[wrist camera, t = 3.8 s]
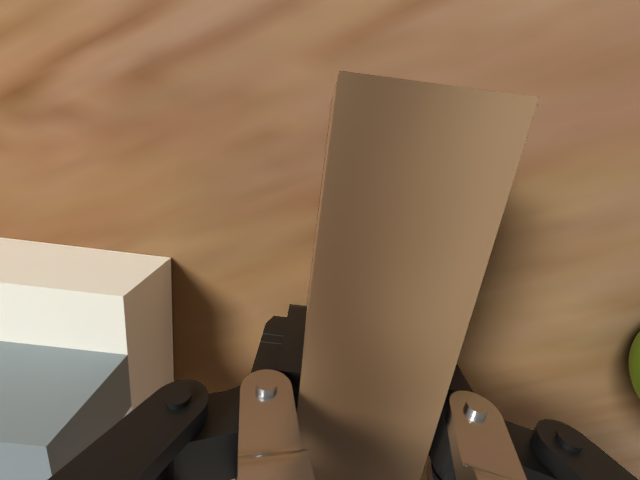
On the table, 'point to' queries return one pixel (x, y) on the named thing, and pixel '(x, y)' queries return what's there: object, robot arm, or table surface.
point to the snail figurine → (635, 364)
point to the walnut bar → (399, 264)
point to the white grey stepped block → (76, 348)
